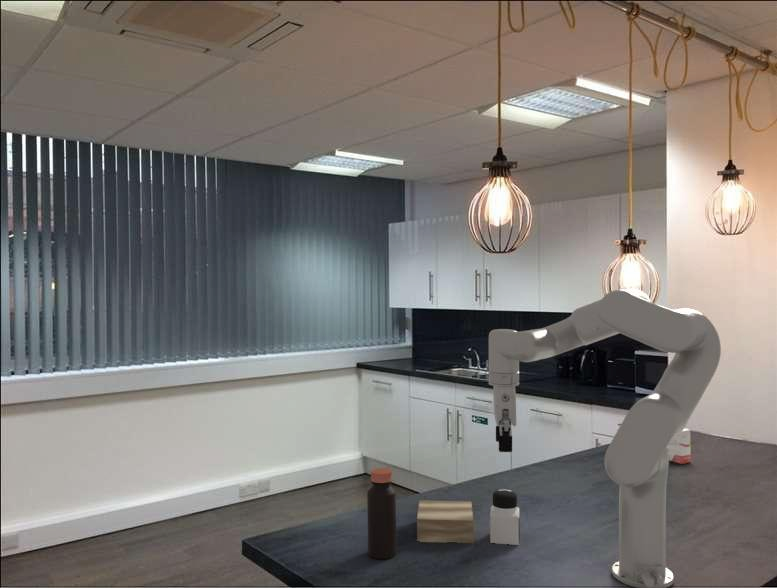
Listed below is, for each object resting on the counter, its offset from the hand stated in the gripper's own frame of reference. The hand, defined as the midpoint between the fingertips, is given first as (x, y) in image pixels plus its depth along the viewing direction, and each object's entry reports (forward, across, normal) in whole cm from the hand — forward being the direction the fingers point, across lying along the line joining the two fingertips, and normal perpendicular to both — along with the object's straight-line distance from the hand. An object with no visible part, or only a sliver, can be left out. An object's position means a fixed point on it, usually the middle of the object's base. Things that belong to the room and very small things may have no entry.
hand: (503, 446), depth 163 cm
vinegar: (+24, -11, +30) cm, 40 cm away
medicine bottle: (+24, 0, 0) cm, 24 cm away
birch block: (+24, +4, +15) cm, 28 cm away
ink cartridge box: (+24, +75, -67) cm, 103 cm away
